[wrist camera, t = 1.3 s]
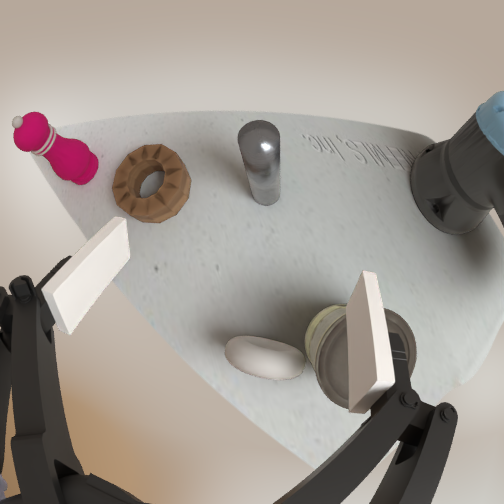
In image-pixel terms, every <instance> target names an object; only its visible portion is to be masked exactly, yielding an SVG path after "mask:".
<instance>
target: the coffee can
mask: <svg viewBox="0 0 504 504" xmlns="http://www.w3.org/2000/svg"><path fill="white" fill-rule="evenodd" d="M346 306H347V304H336V305H332V306H329V307H327V308H325V309H323V310H322V311H320V312H319V313H318V314H317V315H316V316H315V317H314V318H313V319H312V320H311V322H310V324H309V326H308V328H307V331H306V334H305V351H306V354H307V356H308V358H309V360H310V362H311V364H312V366H313V368H314V370H315V372H316V376H317V380H318V383H319V385H320V387H321V389H322V391H323V392H324V394H325V395H326V396H327V397H328V398H329V399H330V400H331V401H332V402H334V403H335V404H337V405H339V406H341V407H343V408H346V409H349V365H348V337H347V319H346ZM384 313H385V319H386V324H387V330H388V332H392V333H398V334H399V336H400V337H401V339H402V341H403V342H404V348H405V354H406V358H407V359H406V361H407V364H408V370H409V376H410V377H411V375H412V373H413V370H414V367H415V363H416V354H417V351H416V342H415V337H414V335H413V332H412V330H411V328H410V327H409V325H408V324H407V322H406V321H405V320H404V319H403V318H402V317H401V316H400V315H398V314H396V313H395V312H393V311H391V310H388V309H385V308H384ZM370 409H371V408H370Z"/></svg>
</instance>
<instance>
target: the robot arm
mask: <svg viewBox="0 0 504 504" xmlns="http://www.w3.org/2000/svg"><path fill="white" fill-rule="evenodd" d="M411 188H412V192H413V196H414V199H415V201H416V203H417V205H418V207H419V209H420V211H421V212H422V214H423V215H424V216H425V218H426V219H427V220H428V221H429V222H430V223H431V224H432V225H433V226H435V227H436V228H437V229H439V230H441V231H443V232H445V233H448V234H454V235H458V234H463V233H466V232H468V231H471V230H473V229H475V228H476V227H477V226H478V225H479V224H480V223H481V222H482V220H483V219H484V218H485V216H486V215H487V214H488V213H489V212H490V210H491V209H492V208H495V210H496V212H497V214H498V216H499V218H500V220H501V222H502V225H503V227H504V91H500V92H497V93H495V94H494V95H493V96H492V97H491V98H489V99H488V100H487V101H486V102H485V103H483V104H481V105H480V106H479V107H478V109H477V111H476V112H475V113H474V115H473V116H472V117H471V118H470V119H469V120H468V121H467V122H466V123H465V124H464V125H463V126H462V127H461V128H460V129H459V130H458V132H457V133H456V134H455V135H454V136H453V137H452V138H451V139H449V140H446V141H442V142H439V143H435V144H432V145H430V146H428V147H427V148H425V149H424V150H423V151H422V152H421V153H420V154H419V155H418V157H417V158H416V159H415V161H414V163H413V166H412V170H411ZM129 259H130V250H129V242H128V233H127V223H126V218H122V217H117V216H115V217H114V218H113V219H111V220H110V221H109V222H108V223H107V224H106V225H105V226H104V227H103V228H102V229H100V230H99V231H98V232H97V233H96V234H95V235H94V236H93V237H92V238H91V239H90V240H89V241H88V242H87V243H86V244H85V245H84V246H83V247H81V248H80V249H79V250H78V251H77V253H75V255H74V256H68V257H66V258H65V259H63V260H61V261H60V262H59V263H58V264H57V265H56V266H55V268H53V269H52V270H51V271H50V273H48V274H47V275H46V276H45V277H44V278H43V279H42V281H41V282H40V283H39V284H38V285H37V286H36V287H34V285H33V282H32V280H31V278H30V277H29V276H26V275H23V276H19V277H17V278H15V279H14V280H12V282H11V283H10V285H9V290H10V292H11V294H12V295H8V294H7V292H6V290H5V288H4V287H0V327H1V330H0V504H149V503H144V502H142V501H141V500H139V499H138V498H136V497H135V496H134V495H132V494H131V493H129V492H127V491H125V490H123V489H121V488H119V487H118V486H116V485H114V484H111V483H109V482H108V481H105V480H103V479H101V478H99V477H97V476H95V475H93V474H92V473H90V475H85V474H84V471H83V469H82V466H81V464H80V462H79V460H78V459H77V457H76V455H75V453H74V451H73V447H72V443H71V439H70V436H69V432H68V427H67V423H66V418H65V414H64V408H63V403H62V397H61V391H60V385H59V378H58V370H57V362H56V354H55V342H54V331H53V328H52V326H53V325H54V324H55V322H56V325H57V327H58V329H59V330H60V331H62V332H64V333H66V334H68V335H71V334H72V332H73V331H74V330H75V328H76V327H77V325H78V324H79V323H80V321H81V320H82V318H83V317H84V316H85V314H86V313H87V312H88V310H89V309H90V308H91V307H92V305H93V304H94V303H95V301H96V300H97V299H98V297H99V296H100V294H101V293H102V292H103V291H104V290H105V288H106V287H107V286H108V284H109V283H110V282H111V281H112V280H113V278H114V277H115V276H116V275H117V273H118V272H119V271H120V270H121V268H122V267H123V266H124V265H125V264H126V262H127V261H128V260H129ZM346 319H347V337H348V365H349V412H351V413H362V414H365V413H366V412H367V411H368V410H369V409H370V408H371V416H370V417H369V418H368V419H367V420H366V421H365V422H363V423H362V424H361V427H360V428H359V429H358V430H357V431H356V432H355V433H354V434H353V435H352V436H351V437H350V438H349V439H348V440H347V441H346V442H345V443H344V444H343V445H342V446H341V447H340V448H339V449H338V450H337V451H336V452H335V453H334V454H332V455H331V456H330V457H329V458H328V459H327V460H326V461H325V462H324V463H323V464H321V465H320V466H319V467H318V468H317V469H316V470H315V471H314V472H312V473H311V474H310V475H309V476H308V477H306V478H305V479H304V480H303V481H302V482H300V483H299V484H298V485H297V486H295V487H294V488H293V489H292V490H290V491H289V492H288V493H286V494H285V495H284V496H282V497H281V498H280V499H279V500H277V501H276V502H274V503H273V504H340V503H341V502H342V501H343V500H344V499H345V498H346V497H347V496H348V495H349V494H350V493H351V492H352V491H353V490H354V489H355V488H356V487H357V486H358V485H359V484H360V483H361V482H362V481H363V480H364V479H365V478H366V477H367V476H368V474H369V473H370V472H371V471H372V470H373V469H374V468H375V467H376V465H377V464H378V463H379V462H380V461H381V459H382V458H383V457H384V456H385V455H386V453H387V452H388V451H389V450H390V448H391V447H392V446H393V445H394V443H395V442H396V441H397V440H398V441H400V443H399V446H398V448H397V451H396V453H395V455H394V457H393V459H392V461H391V463H390V465H389V468H388V470H387V472H386V474H385V476H384V478H383V480H382V482H381V483H380V485H379V487H378V489H377V491H376V493H375V495H374V496H373V498H372V500H371V502H370V503H369V504H431V502H432V499H433V497H434V494H435V492H436V489H437V487H438V484H439V481H440V479H441V476H442V473H443V470H444V467H445V464H446V461H447V458H448V454H449V451H450V448H451V444H452V440H453V437H454V433H455V428H456V425H457V419H458V415H457V412H456V410H455V408H454V407H453V406H452V405H451V404H449V403H446V402H444V403H440V404H439V405H437V406H436V407H434V406H432V405H429V404H427V403H424V402H422V401H420V398H419V395H418V394H417V393H416V391H415V390H413V389H412V388H411V382H410V376H409V370H408V364H407V361H406V359H407V358H406V354H405V348H404V342H403V341H402V339H401V337H400V336H399V334H398V333H392V332H388V330H387V324H386V319H385V313H384V308H383V303H382V299H381V294H380V289H379V285H378V280H377V276H376V273H373V272H368V271H364V270H363V271H362V273H361V275H360V278H359V280H358V282H357V284H356V287H355V289H354V291H353V293H352V295H351V298H350V300H349V302H348V304H347V306H346ZM11 385H12V400H13V412H14V420H15V429H16V434H15V436H14V437H12V439H11V450H12V455H13V461H14V466H15V471H16V475H17V480H18V484H19V488H20V492H21V494H18V495H15V496H12V497H9V498H5V495H4V491H6V490H7V483H6V481H5V480H4V479H3V478H2V475H1V473H2V468H3V462H4V452H5V434H6V422H7V413H8V405H9V398H10V391H11Z"/></svg>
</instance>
